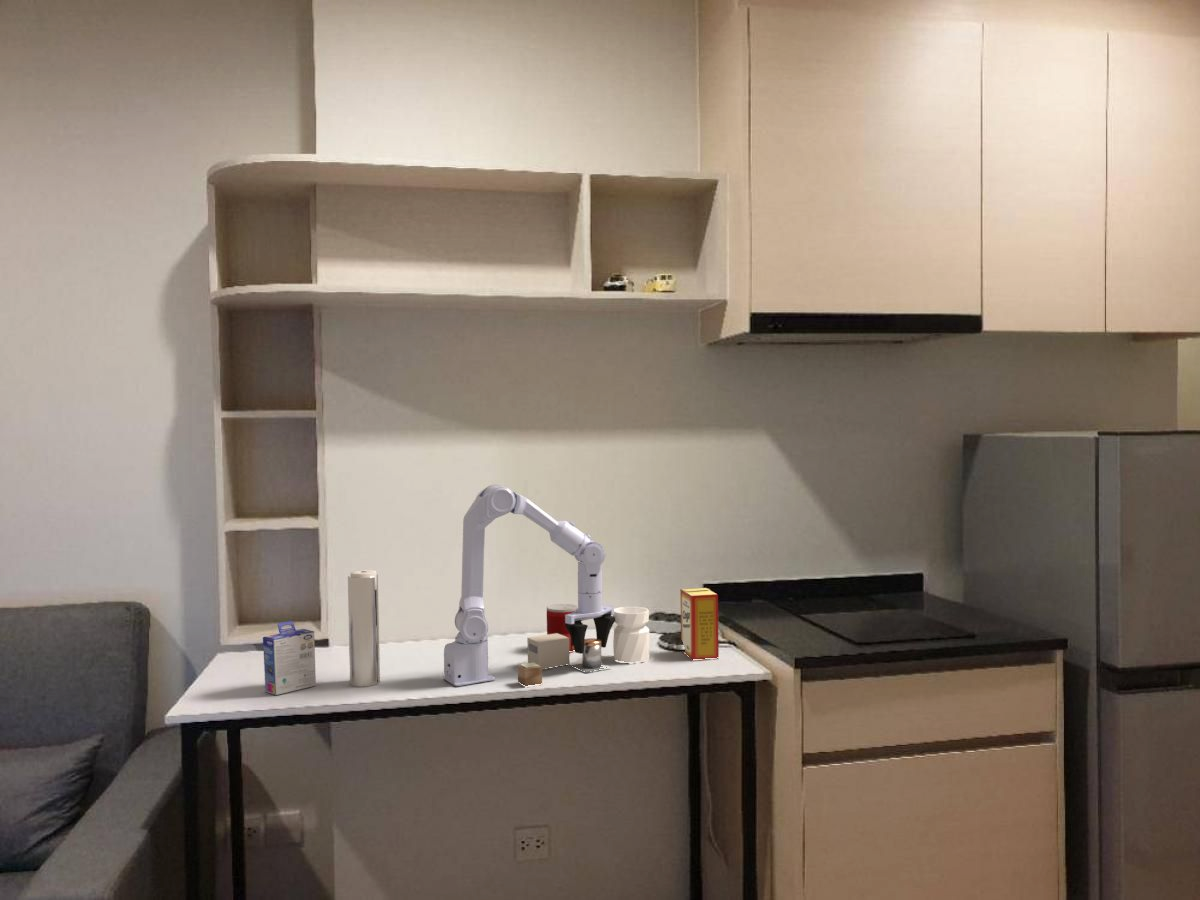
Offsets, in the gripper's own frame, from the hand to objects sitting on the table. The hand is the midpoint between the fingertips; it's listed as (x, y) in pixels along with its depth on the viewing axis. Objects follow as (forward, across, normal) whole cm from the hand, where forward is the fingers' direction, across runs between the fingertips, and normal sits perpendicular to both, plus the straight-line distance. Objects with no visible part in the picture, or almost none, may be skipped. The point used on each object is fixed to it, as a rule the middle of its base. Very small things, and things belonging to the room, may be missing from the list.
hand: (590, 649), depth 208 cm
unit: (+4, +4, -10) cm, 11 cm away
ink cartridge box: (+5, +54, -39) cm, 67 cm away
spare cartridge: (+4, 0, 0) cm, 4 cm away
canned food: (+4, -8, -18) cm, 20 cm away
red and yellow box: (+4, -26, +12) cm, 29 cm away
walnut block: (+4, +18, -1) cm, 19 cm away
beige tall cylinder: (+5, +41, -30) cm, 51 cm away
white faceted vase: (+4, -12, +2) cm, 13 cm away
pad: (+4, 0, 0) cm, 4 cm away
